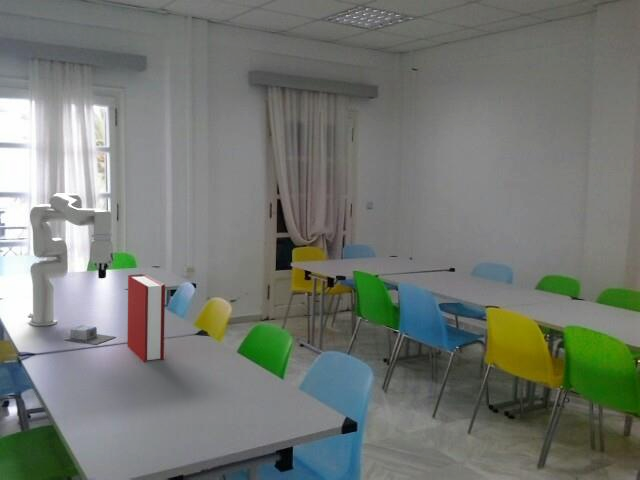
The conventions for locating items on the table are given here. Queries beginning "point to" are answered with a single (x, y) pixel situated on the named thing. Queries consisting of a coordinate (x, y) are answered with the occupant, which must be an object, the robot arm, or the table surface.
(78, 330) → the medicine box
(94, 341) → the charcoal rubber mat
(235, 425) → the table surface
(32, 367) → the table surface
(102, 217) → the robot arm
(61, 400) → the table surface
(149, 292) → the book
